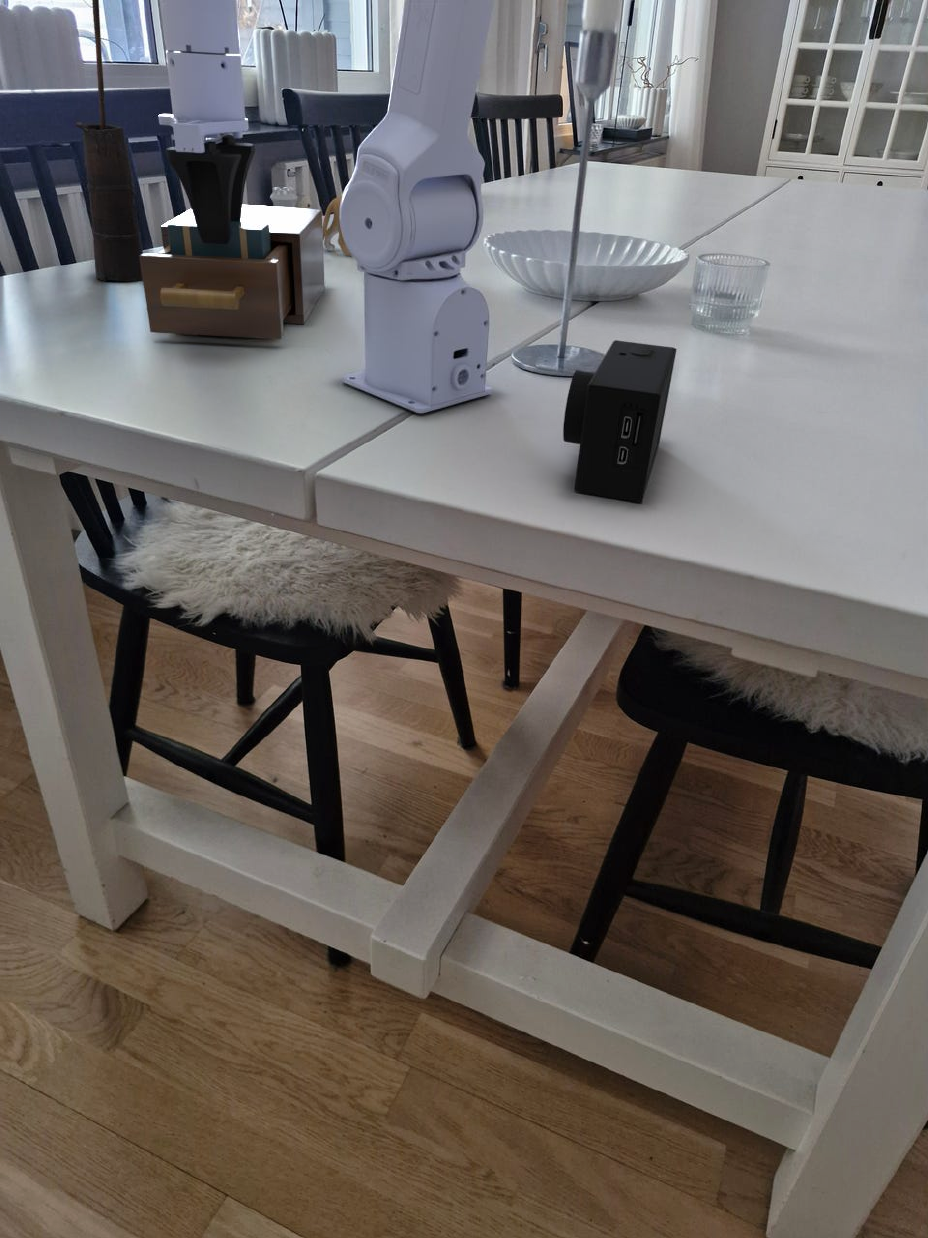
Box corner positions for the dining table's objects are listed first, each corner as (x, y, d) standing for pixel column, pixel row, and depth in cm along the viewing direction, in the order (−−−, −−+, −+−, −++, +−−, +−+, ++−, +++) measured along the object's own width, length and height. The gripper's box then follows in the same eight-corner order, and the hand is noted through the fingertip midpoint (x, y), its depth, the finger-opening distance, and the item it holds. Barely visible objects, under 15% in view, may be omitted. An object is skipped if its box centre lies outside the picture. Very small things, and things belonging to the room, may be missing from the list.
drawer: (272, 353, 72) (266, 273, 68) (134, 346, 72) (121, 266, 68) (305, 301, 87) (302, 234, 83) (191, 295, 86) (183, 227, 83)
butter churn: (89, 293, 89) (28, -50, 74) (55, 274, 95) (-9, -47, 79) (174, 283, 94) (133, -39, 79) (136, 266, 100) (91, -36, 85)
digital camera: (583, 433, 63) (596, 335, 59) (659, 444, 62) (677, 345, 58) (555, 489, 54) (567, 379, 50) (641, 504, 53) (661, 392, 49)
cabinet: (304, 324, 83) (299, 233, 79) (172, 317, 83) (160, 225, 78) (324, 289, 95) (321, 209, 91) (209, 283, 95) (201, 202, 91)
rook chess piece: (298, 265, 105) (294, 192, 101) (263, 261, 106) (258, 189, 101) (310, 258, 109) (307, 187, 104) (277, 254, 109) (272, 184, 105)
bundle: (271, 253, 78) (269, 222, 77) (263, 262, 75) (261, 229, 74) (182, 249, 78) (178, 217, 76) (170, 257, 75) (166, 224, 73)
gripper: (177, 50, 74) (196, 222, 82) (121, 49, 62) (149, 251, 70) (260, 55, 74) (271, 226, 82) (220, 55, 62) (238, 256, 70)
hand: (221, 238), depth 76 cm, fingers closed on bundle, 3 cm apart
